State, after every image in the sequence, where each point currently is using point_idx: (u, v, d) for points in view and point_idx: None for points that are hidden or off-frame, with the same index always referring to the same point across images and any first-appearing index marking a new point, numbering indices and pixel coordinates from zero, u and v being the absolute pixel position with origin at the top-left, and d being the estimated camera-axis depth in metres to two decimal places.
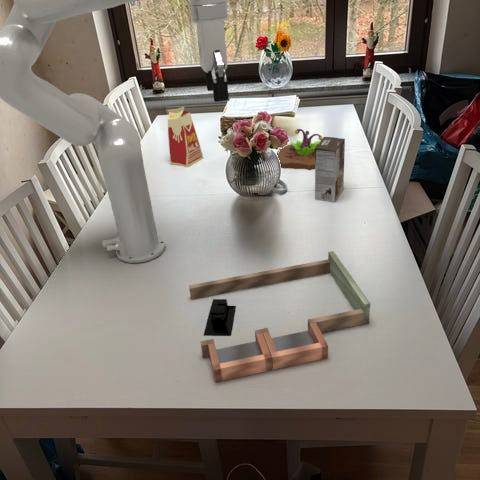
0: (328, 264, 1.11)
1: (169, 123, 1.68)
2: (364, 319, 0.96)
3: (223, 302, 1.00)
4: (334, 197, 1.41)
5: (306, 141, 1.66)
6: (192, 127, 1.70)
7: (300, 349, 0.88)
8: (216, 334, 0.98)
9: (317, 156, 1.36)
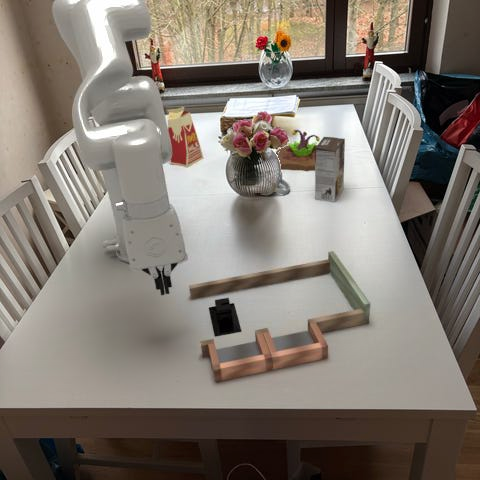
0: (328, 264, 1.11)
1: (169, 123, 1.68)
2: (364, 319, 0.96)
3: (226, 301, 1.00)
4: (334, 197, 1.41)
5: (304, 142, 1.65)
6: (192, 127, 1.70)
7: (300, 349, 0.88)
8: (227, 333, 0.98)
9: (317, 156, 1.36)
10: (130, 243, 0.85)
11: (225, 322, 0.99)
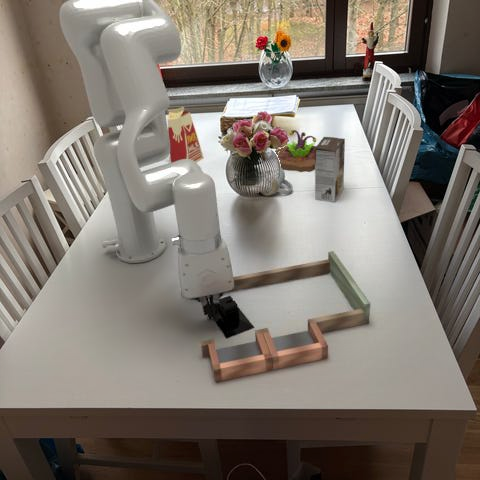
0: (328, 264, 1.11)
1: (169, 123, 1.68)
2: (364, 319, 0.96)
3: (229, 298, 1.00)
4: (334, 197, 1.41)
5: (301, 142, 1.65)
6: (192, 127, 1.70)
7: (300, 349, 0.88)
8: (237, 330, 0.98)
9: (317, 156, 1.36)
10: (184, 275, 0.91)
11: (232, 319, 1.00)
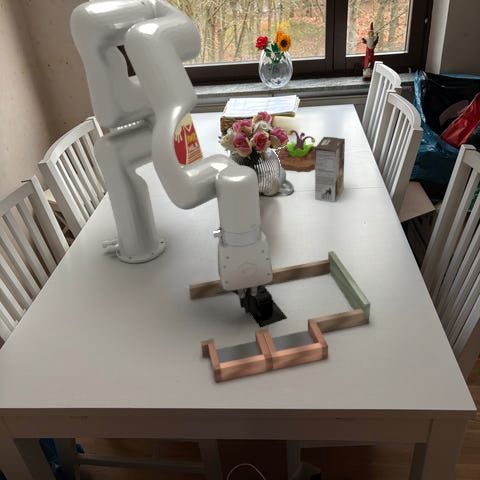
0: (328, 264, 1.11)
1: None
2: (364, 319, 0.96)
3: (264, 289, 1.02)
4: (334, 197, 1.41)
5: (299, 142, 1.65)
6: (192, 127, 1.70)
7: (300, 349, 0.88)
8: (271, 320, 1.00)
9: (317, 156, 1.36)
10: (225, 267, 0.92)
11: (266, 310, 1.01)
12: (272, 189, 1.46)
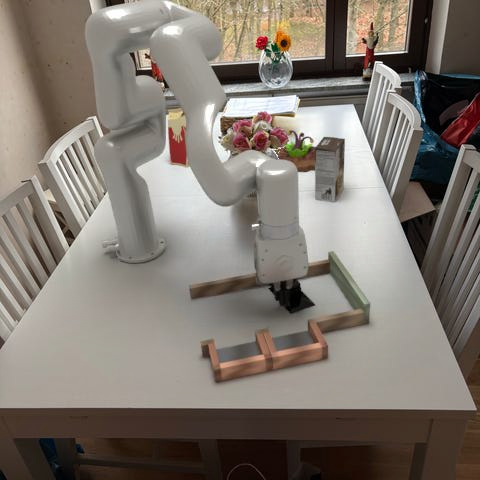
0: (328, 264, 1.11)
1: (169, 123, 1.68)
2: (364, 319, 0.96)
3: None
4: (334, 197, 1.41)
5: (298, 143, 1.65)
6: None
7: (300, 349, 0.88)
8: (300, 307, 1.03)
9: (317, 156, 1.36)
10: (263, 260, 0.93)
11: (295, 298, 1.04)
12: None
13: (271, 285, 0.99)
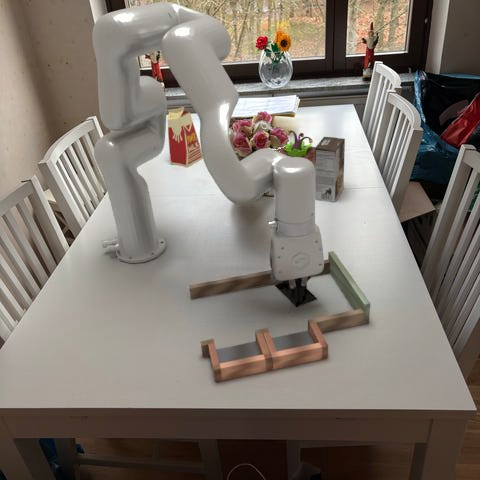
0: (328, 264, 1.11)
1: (169, 123, 1.68)
2: (364, 319, 0.96)
3: None
4: (334, 197, 1.41)
5: (297, 143, 1.65)
6: (192, 127, 1.70)
7: (300, 349, 0.88)
8: (306, 303, 1.04)
9: (317, 156, 1.36)
10: (279, 258, 0.93)
11: None
12: None
13: (286, 282, 0.99)
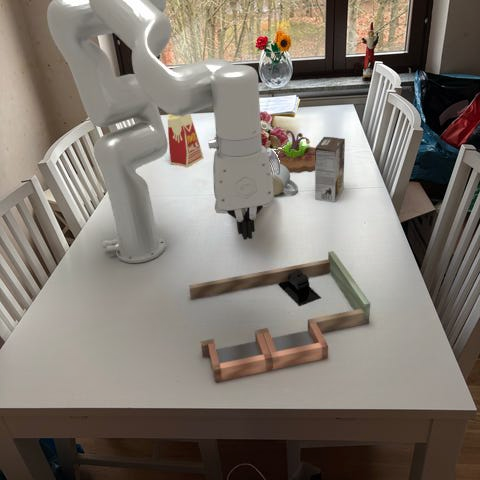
0: (328, 264, 1.11)
1: (169, 123, 1.68)
2: (364, 319, 0.96)
3: (300, 272, 1.06)
4: (334, 197, 1.41)
5: (295, 143, 1.65)
6: (192, 127, 1.70)
7: (300, 349, 0.88)
8: (309, 301, 1.04)
9: (317, 156, 1.36)
10: (221, 182, 0.83)
11: (303, 292, 1.06)
12: (276, 189, 1.46)
13: (233, 215, 0.89)
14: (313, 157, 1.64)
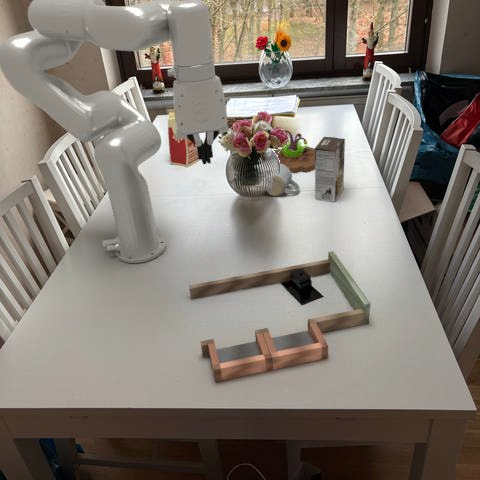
0: (328, 264, 1.11)
1: (169, 123, 1.68)
2: (364, 319, 0.96)
3: (302, 271, 1.07)
4: (334, 197, 1.41)
5: (293, 143, 1.65)
6: None
7: (300, 349, 0.88)
8: (311, 300, 1.04)
9: (317, 156, 1.36)
10: (179, 107, 0.94)
11: (305, 291, 1.06)
12: (278, 189, 1.45)
13: (192, 140, 1.00)
14: (310, 158, 1.64)
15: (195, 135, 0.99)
